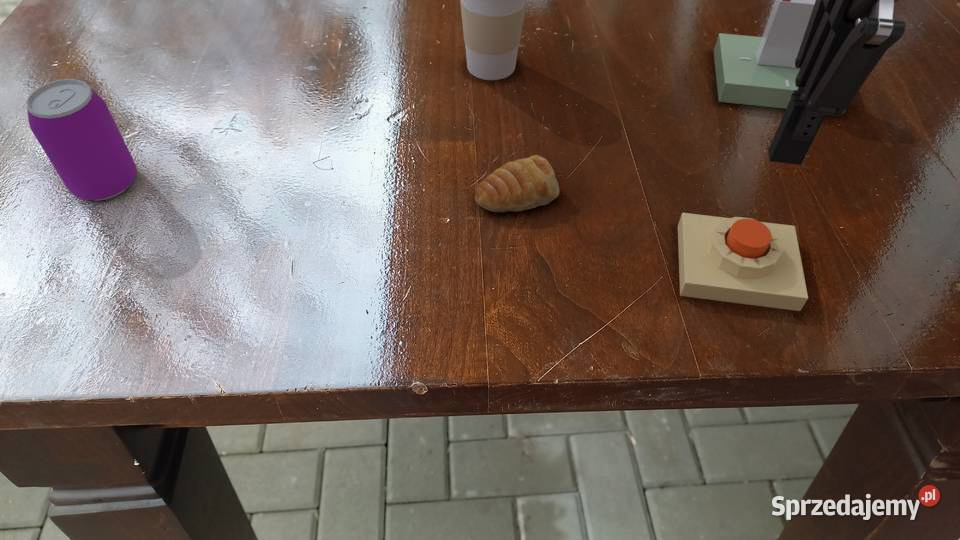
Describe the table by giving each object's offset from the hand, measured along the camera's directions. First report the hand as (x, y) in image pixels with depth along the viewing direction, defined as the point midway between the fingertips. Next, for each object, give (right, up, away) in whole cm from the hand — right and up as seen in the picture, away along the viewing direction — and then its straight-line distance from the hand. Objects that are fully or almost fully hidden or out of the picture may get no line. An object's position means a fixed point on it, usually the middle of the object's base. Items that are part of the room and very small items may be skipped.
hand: (784, 157), depth 62 cm
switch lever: (+13, +18, +31) cm, 38 cm away
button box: (0, -10, +12) cm, 15 cm away
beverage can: (-71, 0, +19) cm, 73 cm away
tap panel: (+13, +16, +33) cm, 39 cm away
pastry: (-23, -2, +19) cm, 29 cm away
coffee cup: (-26, +18, +35) cm, 47 cm away
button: (0, -7, +9) cm, 12 cm away
